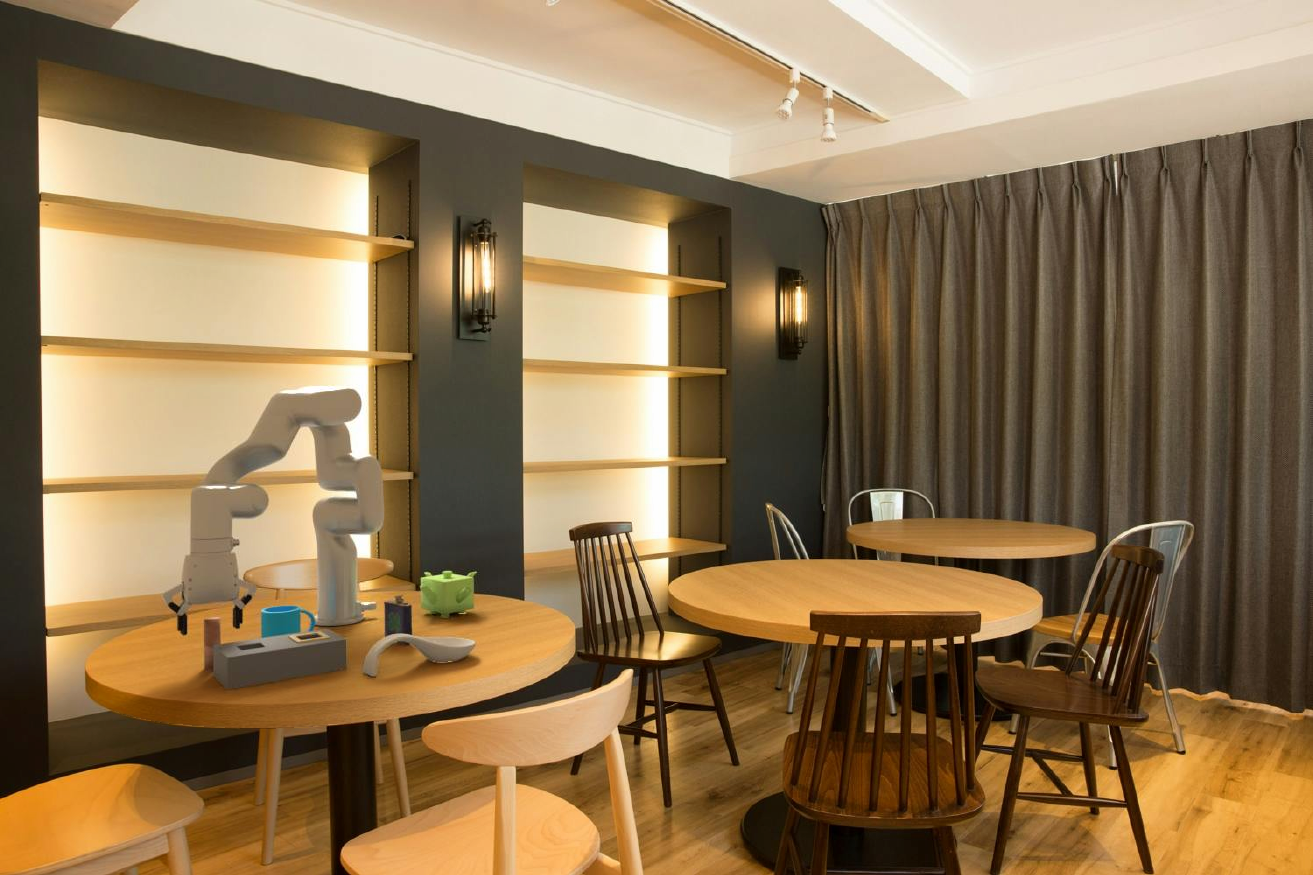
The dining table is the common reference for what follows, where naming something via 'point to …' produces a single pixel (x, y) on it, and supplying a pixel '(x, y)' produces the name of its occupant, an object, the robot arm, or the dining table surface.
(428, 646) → the spoon rest
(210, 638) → the pin
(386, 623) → the flask
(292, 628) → the mug
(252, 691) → the dining table surface
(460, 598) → the green block with protrusions
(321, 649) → the bore block
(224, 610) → the dining table surface
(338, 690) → the dining table surface
